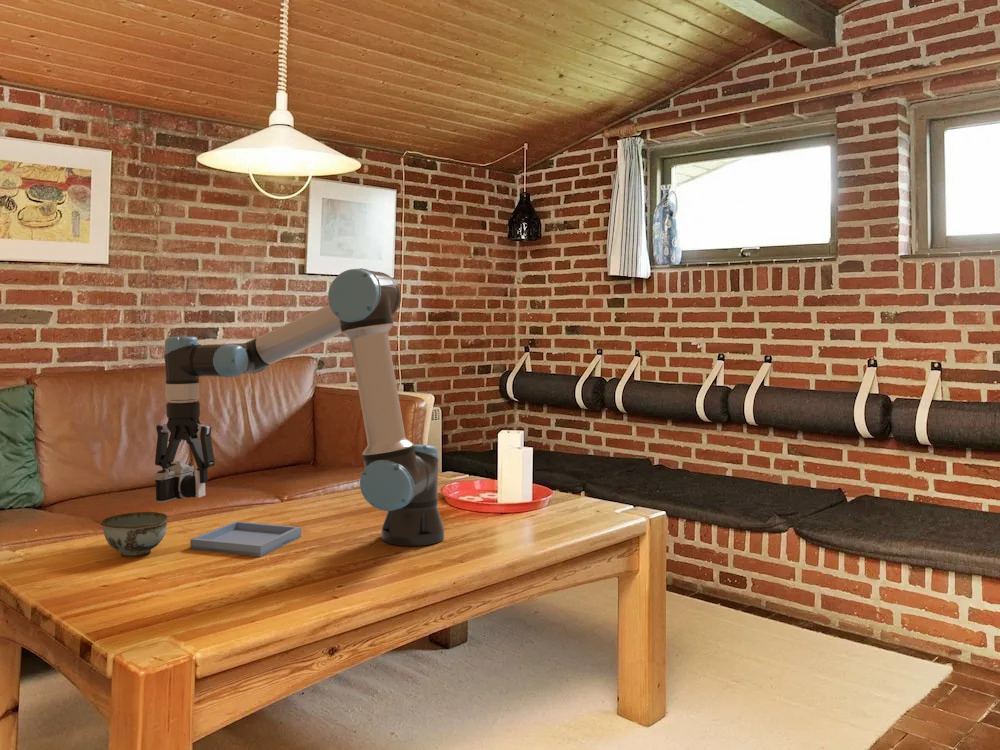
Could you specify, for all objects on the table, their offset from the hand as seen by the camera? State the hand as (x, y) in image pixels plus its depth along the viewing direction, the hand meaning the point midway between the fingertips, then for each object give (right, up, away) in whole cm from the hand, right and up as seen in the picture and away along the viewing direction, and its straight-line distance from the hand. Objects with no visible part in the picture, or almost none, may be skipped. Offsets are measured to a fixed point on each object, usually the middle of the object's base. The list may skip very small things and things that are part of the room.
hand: (185, 495), depth 199 cm
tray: (+16, -10, -5) cm, 20 cm away
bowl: (-5, -11, -15) cm, 20 cm away
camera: (0, -1, -1) cm, 1 cm away
